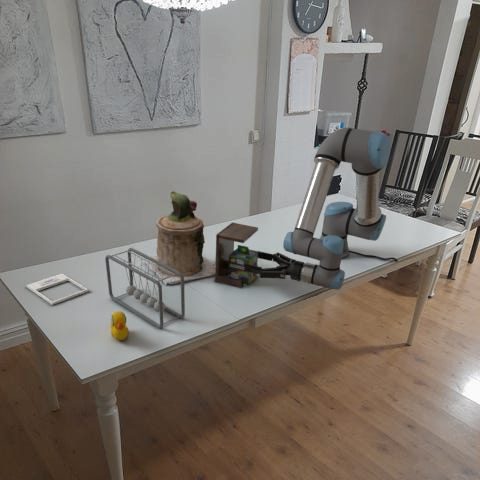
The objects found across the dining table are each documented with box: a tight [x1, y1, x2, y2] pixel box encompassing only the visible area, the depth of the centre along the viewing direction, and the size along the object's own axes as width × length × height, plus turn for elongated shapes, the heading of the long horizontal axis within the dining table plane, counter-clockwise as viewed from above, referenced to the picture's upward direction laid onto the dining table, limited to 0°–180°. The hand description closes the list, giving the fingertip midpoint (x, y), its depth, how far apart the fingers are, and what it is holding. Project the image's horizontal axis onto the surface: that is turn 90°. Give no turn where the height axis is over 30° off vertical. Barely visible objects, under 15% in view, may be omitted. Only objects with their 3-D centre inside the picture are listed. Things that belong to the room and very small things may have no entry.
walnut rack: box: [214, 222, 259, 289], centre depth 185 cm, size 11×15×20 cm
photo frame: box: [26, 273, 89, 306], centre depth 174 cm, size 15×1×18 cm
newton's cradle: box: [104, 247, 186, 329], centre depth 161 cm, size 30×10×18 cm, turn 48°
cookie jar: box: [143, 190, 216, 286], centre depth 186 cm, size 25×25×32 cm
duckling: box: [110, 311, 130, 341], centre depth 147 cm, size 11×5×10 cm, turn 20°
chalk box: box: [227, 244, 259, 286], centre depth 185 cm, size 9×9×15 cm
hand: (250, 260), depth 183 cm, fingers open, 13 cm apart
